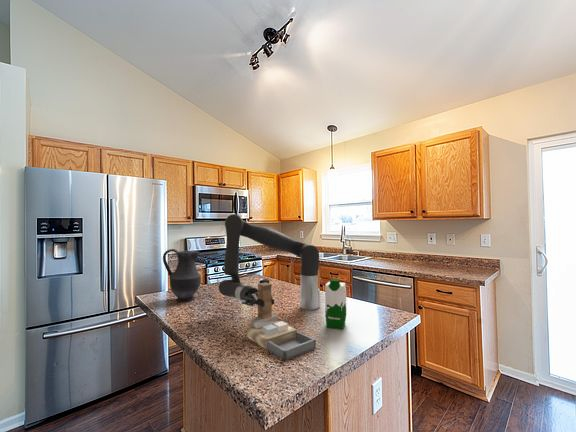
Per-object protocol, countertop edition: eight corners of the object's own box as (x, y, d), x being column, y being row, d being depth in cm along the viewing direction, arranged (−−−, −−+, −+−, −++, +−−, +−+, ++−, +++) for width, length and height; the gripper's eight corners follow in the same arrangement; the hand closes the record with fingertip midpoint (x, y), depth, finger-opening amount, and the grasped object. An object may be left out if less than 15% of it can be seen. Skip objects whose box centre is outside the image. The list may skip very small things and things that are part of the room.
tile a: (273, 328, 104) (273, 323, 104) (281, 326, 107) (281, 321, 107) (279, 331, 101) (279, 326, 101) (288, 329, 103) (288, 323, 103)
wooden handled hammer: (251, 325, 106) (251, 284, 107) (272, 319, 112) (272, 281, 113) (256, 328, 103) (256, 286, 103) (277, 322, 109) (277, 283, 110)
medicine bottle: (272, 299, 158) (272, 278, 159) (266, 302, 152) (266, 280, 152) (262, 297, 161) (262, 277, 162) (255, 300, 155) (255, 279, 155)
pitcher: (200, 302, 151) (200, 249, 152) (159, 306, 145) (160, 250, 146) (201, 295, 168) (201, 247, 169) (164, 298, 162) (165, 248, 163)
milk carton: (323, 328, 113) (323, 280, 114) (327, 320, 122) (327, 276, 123) (345, 330, 111) (344, 281, 111) (347, 323, 119) (347, 277, 120)
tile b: (262, 332, 101) (262, 326, 101) (271, 329, 103) (271, 324, 103) (268, 335, 98) (268, 329, 98) (277, 332, 100) (277, 327, 100)
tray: (267, 350, 94) (267, 341, 94) (297, 339, 103) (297, 331, 103) (284, 360, 86) (284, 351, 86) (315, 348, 95) (315, 339, 95)
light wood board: (246, 336, 105) (246, 327, 105) (275, 328, 114) (275, 319, 114) (266, 349, 94) (266, 339, 94) (297, 338, 103) (297, 329, 103)
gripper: (232, 288, 115) (253, 296, 101) (260, 283, 124) (283, 290, 110) (232, 305, 115) (253, 316, 101) (260, 299, 123) (283, 309, 110)
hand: (268, 303), depth 106 cm, fingers closed on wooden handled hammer, 4 cm apart
